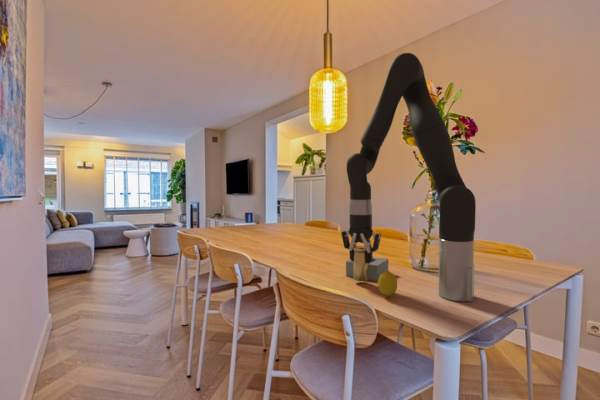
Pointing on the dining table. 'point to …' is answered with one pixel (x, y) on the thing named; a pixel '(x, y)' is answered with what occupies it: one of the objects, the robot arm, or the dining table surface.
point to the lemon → (387, 283)
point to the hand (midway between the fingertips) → (360, 261)
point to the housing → (370, 268)
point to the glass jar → (360, 264)
